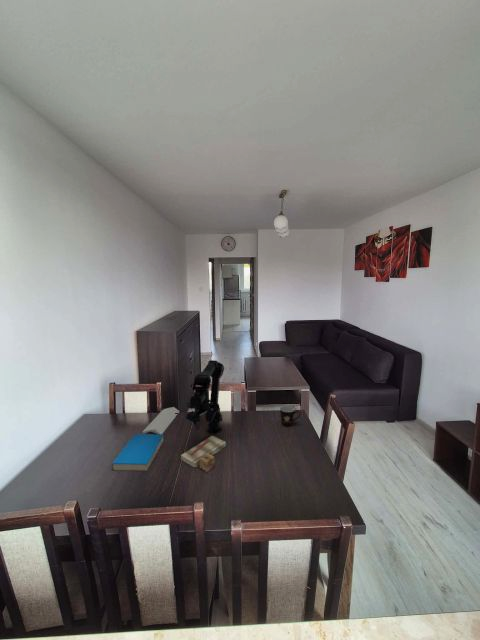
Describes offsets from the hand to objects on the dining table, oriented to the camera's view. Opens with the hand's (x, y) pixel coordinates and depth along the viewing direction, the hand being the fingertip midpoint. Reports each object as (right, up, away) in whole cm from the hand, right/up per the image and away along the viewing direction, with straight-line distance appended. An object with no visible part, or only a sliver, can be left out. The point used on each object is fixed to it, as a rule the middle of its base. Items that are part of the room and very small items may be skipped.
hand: (203, 426), depth 145 cm
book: (-32, -14, -3) cm, 35 cm away
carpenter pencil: (-2, -10, -2) cm, 10 cm away
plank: (+1, -12, -2) cm, 13 cm away
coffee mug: (+49, -8, +24) cm, 55 cm away
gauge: (+3, -14, -13) cm, 20 cm away
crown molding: (-30, -9, +30) cm, 43 cm away
